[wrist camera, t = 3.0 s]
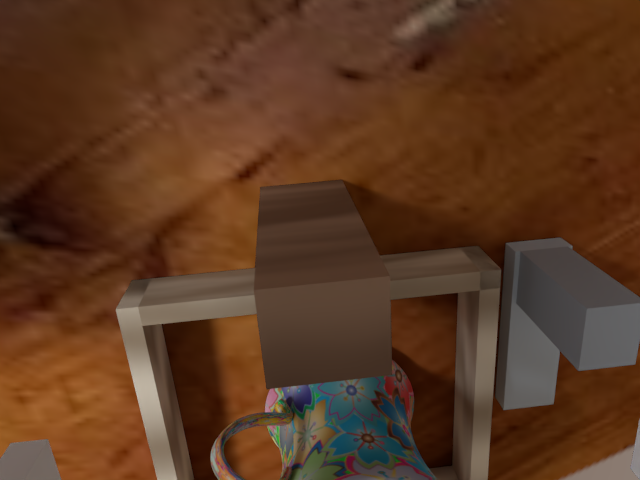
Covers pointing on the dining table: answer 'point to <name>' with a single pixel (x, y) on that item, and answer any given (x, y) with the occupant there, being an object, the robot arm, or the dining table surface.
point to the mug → (337, 431)
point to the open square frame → (318, 317)
